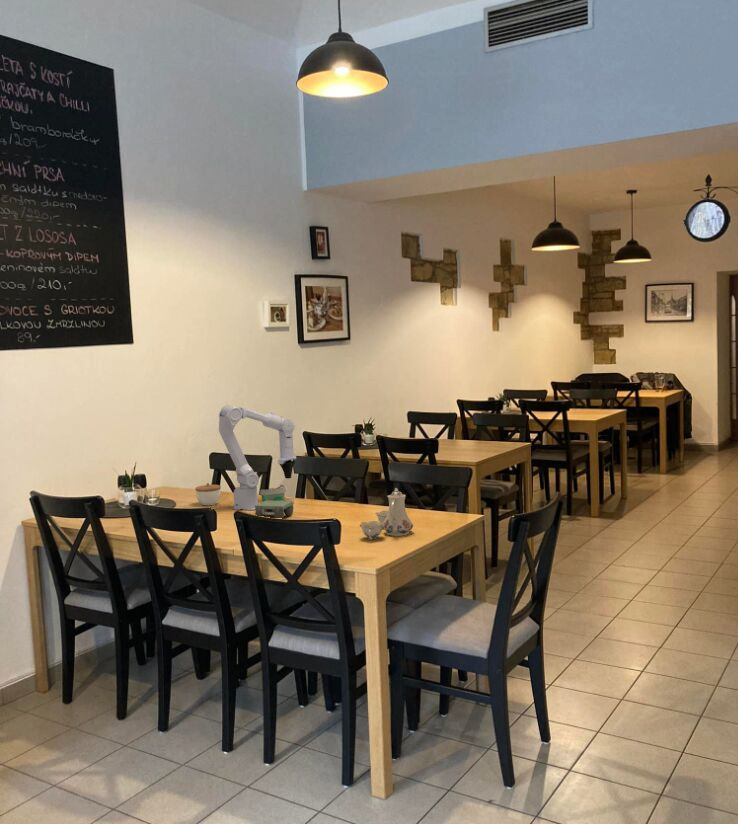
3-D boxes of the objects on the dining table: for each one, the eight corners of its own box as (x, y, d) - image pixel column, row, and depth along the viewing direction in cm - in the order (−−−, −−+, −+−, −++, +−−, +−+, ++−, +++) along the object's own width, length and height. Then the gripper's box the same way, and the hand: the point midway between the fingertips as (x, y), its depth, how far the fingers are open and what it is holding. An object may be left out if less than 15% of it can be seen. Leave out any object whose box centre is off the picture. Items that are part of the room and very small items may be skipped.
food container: (272, 515, 323) (270, 490, 322) (261, 514, 327) (259, 489, 326) (293, 509, 333) (292, 485, 332) (282, 508, 337) (281, 484, 336)
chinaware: (377, 527, 302) (371, 484, 301) (421, 523, 298) (415, 479, 297) (358, 547, 275) (351, 499, 274) (406, 543, 271) (399, 494, 270)
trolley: (253, 521, 314) (252, 506, 313) (269, 513, 327) (268, 499, 327) (281, 522, 310) (280, 507, 309) (296, 514, 324) (295, 499, 323)
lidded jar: (224, 501, 356) (223, 480, 355) (217, 506, 345) (216, 485, 344) (201, 502, 357) (199, 481, 356) (193, 507, 346) (191, 485, 345)
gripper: (288, 449, 338) (289, 481, 340) (301, 444, 352) (303, 475, 353) (272, 449, 341) (274, 481, 342) (286, 444, 354) (288, 475, 355)
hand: (288, 478), depth 348 cm, fingers closed
